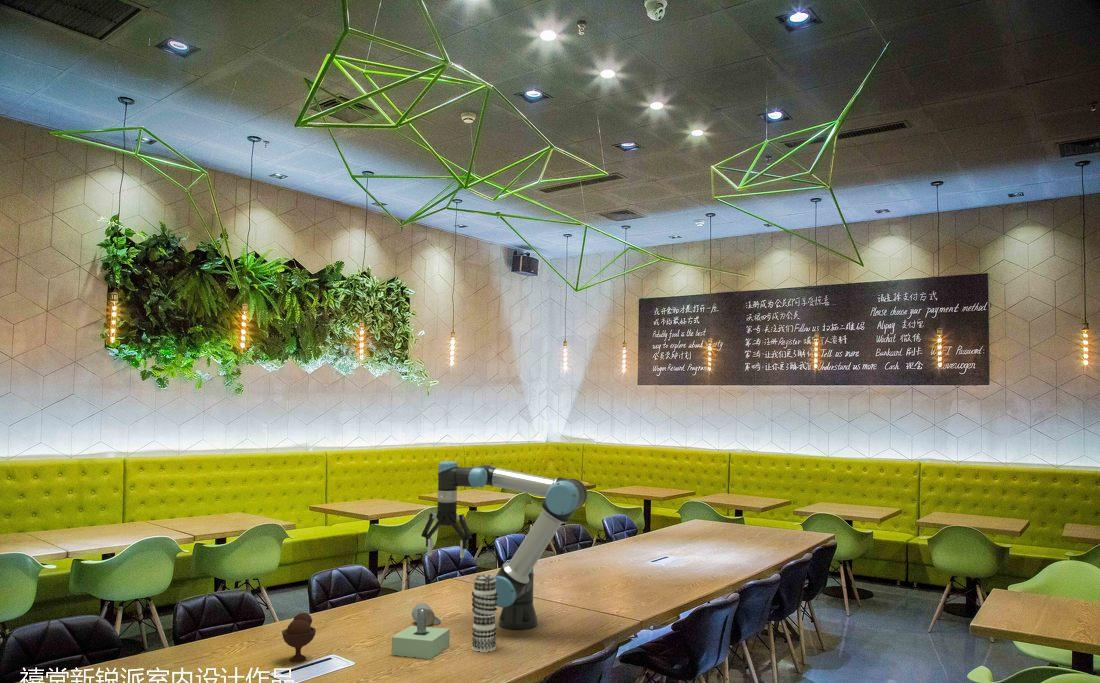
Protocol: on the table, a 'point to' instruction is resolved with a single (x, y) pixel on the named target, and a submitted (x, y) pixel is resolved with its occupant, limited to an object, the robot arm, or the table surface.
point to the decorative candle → (484, 613)
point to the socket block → (420, 642)
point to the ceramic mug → (429, 616)
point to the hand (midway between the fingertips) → (446, 556)
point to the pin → (421, 621)
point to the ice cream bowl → (299, 635)
